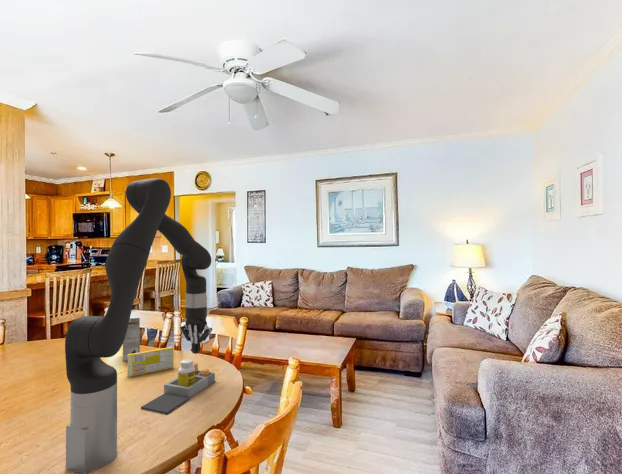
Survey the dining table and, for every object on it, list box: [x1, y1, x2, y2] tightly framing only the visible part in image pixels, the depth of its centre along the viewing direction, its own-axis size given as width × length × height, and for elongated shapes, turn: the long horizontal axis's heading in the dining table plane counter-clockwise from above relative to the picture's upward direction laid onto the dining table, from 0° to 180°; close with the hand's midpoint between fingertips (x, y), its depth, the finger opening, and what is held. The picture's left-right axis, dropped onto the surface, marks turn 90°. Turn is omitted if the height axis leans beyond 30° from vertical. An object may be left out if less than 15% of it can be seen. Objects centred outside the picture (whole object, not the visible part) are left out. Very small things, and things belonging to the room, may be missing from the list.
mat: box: [140, 392, 191, 415], centre depth 106 cm, size 10×10×1 cm
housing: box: [163, 369, 216, 398], centre depth 118 cm, size 14×10×3 cm
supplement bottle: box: [177, 358, 195, 387], centre depth 117 cm, size 5×5×10 cm
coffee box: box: [122, 317, 141, 362], centre depth 149 cm, size 9×6×16 cm
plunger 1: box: [192, 362, 199, 373], centre depth 124 cm, size 3×3×3 cm
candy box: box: [127, 346, 174, 378], centre depth 133 cm, size 16×2×8 cm, turn 123°
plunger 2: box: [201, 368, 210, 376], centre depth 122 cm, size 3×3×3 cm
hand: (196, 352), depth 124 cm, fingers closed
